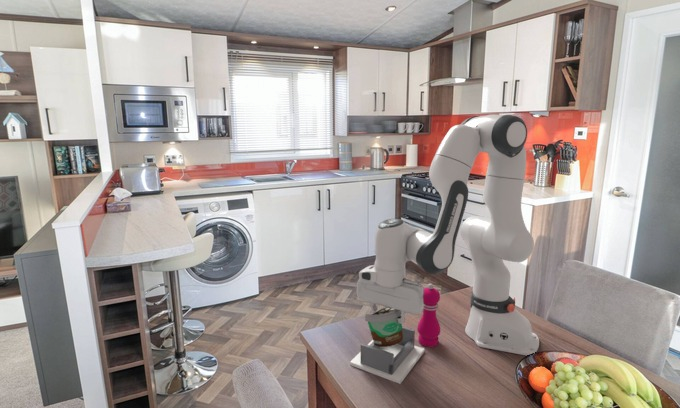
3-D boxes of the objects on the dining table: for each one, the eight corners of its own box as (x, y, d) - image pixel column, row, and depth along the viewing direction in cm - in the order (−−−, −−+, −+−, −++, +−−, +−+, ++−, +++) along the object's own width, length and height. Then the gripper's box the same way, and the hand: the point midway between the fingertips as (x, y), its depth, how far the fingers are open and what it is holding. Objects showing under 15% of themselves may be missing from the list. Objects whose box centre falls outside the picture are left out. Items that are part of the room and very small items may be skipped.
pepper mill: (440, 349, 122) (443, 289, 118) (416, 346, 124) (418, 287, 120) (439, 336, 129) (442, 280, 125) (417, 334, 131) (419, 278, 127)
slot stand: (424, 351, 121) (425, 331, 120) (400, 384, 106) (400, 361, 105) (378, 336, 130) (378, 317, 128) (350, 364, 115) (349, 343, 113)
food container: (382, 353, 109) (376, 319, 108) (370, 346, 115) (364, 314, 114) (416, 337, 115) (410, 304, 114) (402, 331, 121) (397, 300, 120)
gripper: (428, 279, 110) (426, 324, 112) (364, 265, 120) (363, 306, 123) (419, 287, 104) (417, 334, 107) (353, 271, 115) (353, 314, 118)
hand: (388, 319), depth 115 cm, fingers closed on food container, 7 cm apart
